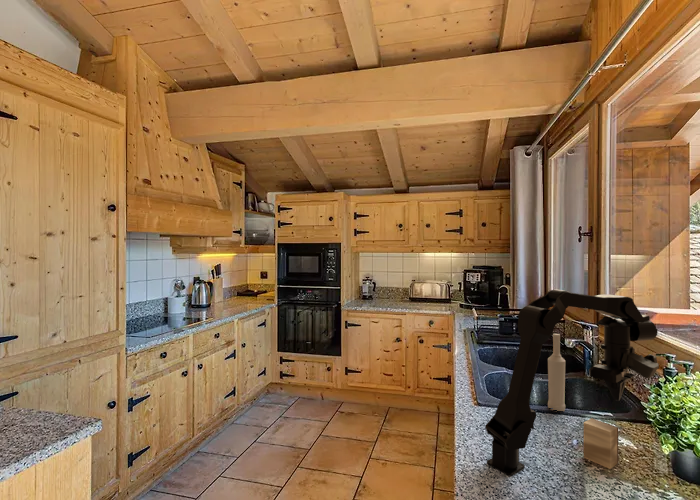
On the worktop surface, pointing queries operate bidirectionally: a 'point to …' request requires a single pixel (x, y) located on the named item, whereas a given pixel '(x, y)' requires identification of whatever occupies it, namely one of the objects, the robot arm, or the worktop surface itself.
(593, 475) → the worktop surface
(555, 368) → the bottle
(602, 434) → the birch block
